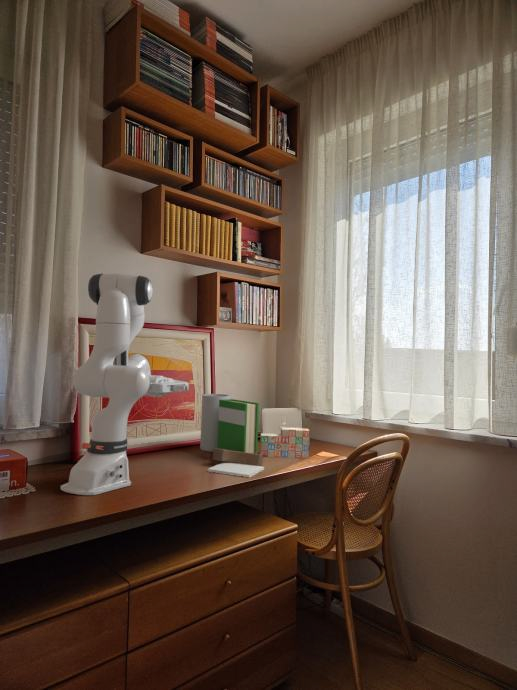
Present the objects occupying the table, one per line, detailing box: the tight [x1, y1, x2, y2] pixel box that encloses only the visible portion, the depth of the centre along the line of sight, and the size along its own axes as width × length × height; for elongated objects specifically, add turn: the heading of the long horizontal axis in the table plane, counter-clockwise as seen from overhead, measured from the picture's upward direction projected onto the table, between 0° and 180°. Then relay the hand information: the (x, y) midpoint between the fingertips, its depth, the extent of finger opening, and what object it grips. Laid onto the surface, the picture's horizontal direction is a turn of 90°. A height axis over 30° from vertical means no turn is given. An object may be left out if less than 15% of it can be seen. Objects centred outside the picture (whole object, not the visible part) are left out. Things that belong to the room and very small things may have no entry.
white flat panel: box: [207, 461, 265, 478], centre depth 174 cm, size 14×17×1 cm
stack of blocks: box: [259, 426, 311, 459], centre depth 203 cm, size 21×6×12 cm, turn 91°
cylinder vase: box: [199, 393, 230, 453], centre depth 211 cm, size 12×12×25 cm
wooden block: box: [211, 448, 264, 466], centre depth 182 cm, size 9×4×18 cm
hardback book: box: [218, 398, 260, 454], centre depth 197 cm, size 18×7×24 cm, turn 42°
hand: (186, 388), depth 184 cm, fingers closed
